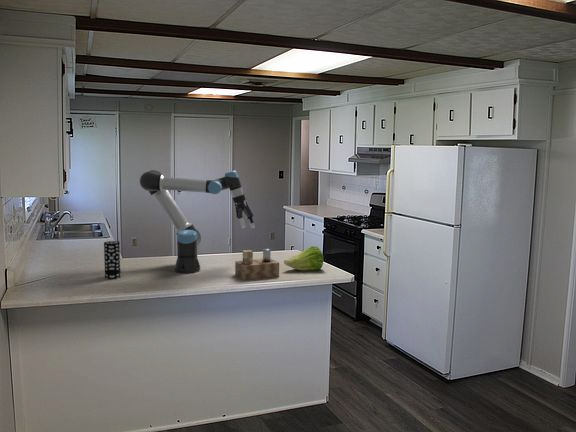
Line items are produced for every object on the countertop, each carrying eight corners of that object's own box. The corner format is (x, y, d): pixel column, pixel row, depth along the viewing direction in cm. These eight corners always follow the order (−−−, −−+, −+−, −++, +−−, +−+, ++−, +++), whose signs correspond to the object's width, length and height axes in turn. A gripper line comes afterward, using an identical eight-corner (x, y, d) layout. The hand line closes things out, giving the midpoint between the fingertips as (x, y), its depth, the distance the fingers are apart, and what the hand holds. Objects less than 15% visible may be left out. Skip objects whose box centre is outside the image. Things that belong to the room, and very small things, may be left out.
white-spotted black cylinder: (111, 280, 295) (110, 244, 292) (101, 277, 299) (100, 242, 296) (123, 277, 302) (122, 242, 299) (113, 274, 306) (112, 240, 303)
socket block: (243, 280, 300) (243, 266, 298) (235, 274, 311) (235, 261, 310) (279, 276, 310) (279, 262, 308) (269, 271, 321) (269, 258, 320)
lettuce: (289, 276, 314) (280, 272, 328) (326, 270, 324) (316, 266, 338) (287, 252, 313) (278, 249, 327) (324, 246, 322) (314, 243, 336)
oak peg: (245, 265, 304) (245, 252, 303) (242, 264, 308) (242, 250, 306) (252, 265, 306) (252, 251, 305) (249, 263, 310) (249, 249, 308)
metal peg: (264, 263, 309) (264, 250, 308) (261, 262, 313) (261, 248, 312) (271, 263, 311) (271, 249, 310) (268, 261, 315) (268, 248, 314)
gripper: (251, 192, 319) (262, 226, 322) (235, 194, 341) (245, 226, 344) (240, 196, 315) (251, 230, 318) (225, 198, 337) (235, 230, 340)
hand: (248, 228), depth 331 cm, fingers open, 13 cm apart
